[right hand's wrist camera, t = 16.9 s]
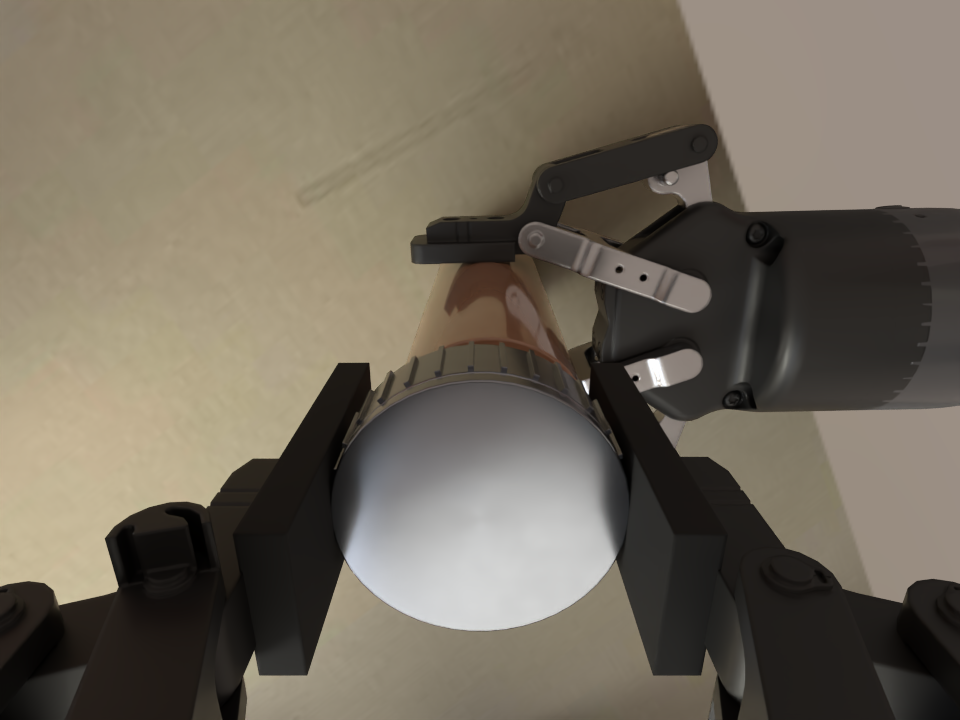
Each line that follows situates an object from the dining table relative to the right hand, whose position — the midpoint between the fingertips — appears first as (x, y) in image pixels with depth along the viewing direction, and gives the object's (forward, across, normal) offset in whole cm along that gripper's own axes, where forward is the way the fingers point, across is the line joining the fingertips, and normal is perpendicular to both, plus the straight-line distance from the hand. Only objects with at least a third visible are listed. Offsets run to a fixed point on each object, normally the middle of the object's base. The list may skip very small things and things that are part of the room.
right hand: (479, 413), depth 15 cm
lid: (-4, 0, 0) cm, 4 cm away
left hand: (+8, -2, 0) cm, 8 cm away
